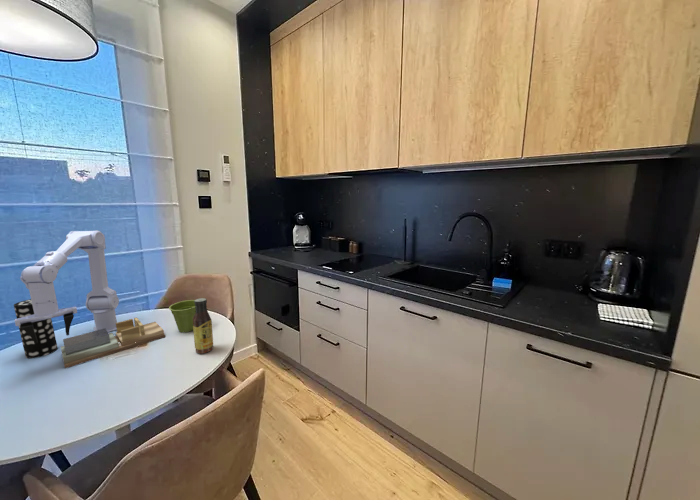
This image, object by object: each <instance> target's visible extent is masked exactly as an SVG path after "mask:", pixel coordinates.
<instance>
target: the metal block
mask: <svg viewBox="0 0 700 500" xmlns="http://www.w3.org/2000/svg"><path fill="white" fill-rule="evenodd" d="M62 340H63V346H65V351H66V355H67V354H71V353H74V352H77V351H81V350H84V349H88V348H91V347H95V346H98V345H102V344H105V343H109V342H110V337H109V332H107V330H106V328H104V329H100V330H97V331H95V330H93V331H90V332H86V333H82V334H78V335H74V336H70V337H67V338H64V339H62Z"/></svg>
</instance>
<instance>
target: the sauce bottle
mask: <svg viewBox="0 0 700 500" xmlns="http://www.w3.org/2000/svg"><path fill="white" fill-rule="evenodd" d="M194 300H195V301H194V303H195V308H196V313H195V315H194V317H193V330H192V331H193V339H194V349H195V352H196V353H197V354H206V353H210V352H211V351H212V350H213V349H214V335H213V325H212V323H213V322H212V318H211V315H210V313H209V312H208V306H207V301H208V299H206V298H205V297H204V298H203V297H202V298H201V297H200V298H196V299H194Z"/></svg>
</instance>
